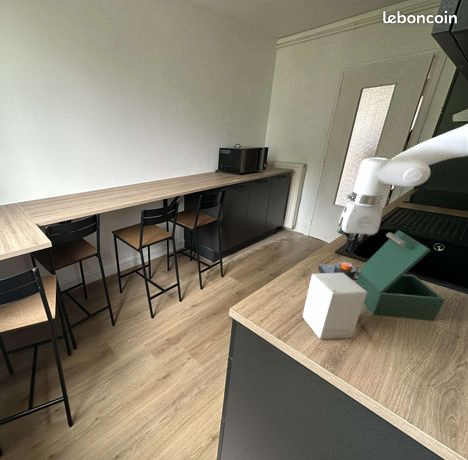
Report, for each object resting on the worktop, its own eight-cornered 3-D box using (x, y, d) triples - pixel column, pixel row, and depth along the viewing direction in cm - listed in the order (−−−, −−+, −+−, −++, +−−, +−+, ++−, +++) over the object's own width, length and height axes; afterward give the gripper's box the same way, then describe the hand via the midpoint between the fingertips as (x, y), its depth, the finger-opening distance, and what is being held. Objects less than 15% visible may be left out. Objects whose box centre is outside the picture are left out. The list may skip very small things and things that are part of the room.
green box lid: (400, 231, 72) (386, 224, 72) (431, 250, 62) (414, 241, 62) (361, 270, 79) (348, 264, 79) (382, 293, 68) (367, 286, 69)
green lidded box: (404, 298, 80) (414, 275, 76) (432, 325, 69) (445, 299, 66) (352, 293, 83) (359, 271, 79) (371, 319, 72) (380, 294, 69)
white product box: (353, 338, 66) (369, 292, 60) (319, 340, 66) (332, 293, 60) (331, 314, 74) (343, 271, 68) (301, 315, 74) (311, 273, 68)
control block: (347, 271, 94) (350, 262, 93) (358, 284, 87) (361, 274, 86) (318, 269, 96) (320, 260, 95) (326, 281, 89) (328, 272, 88)
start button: (348, 266, 91) (349, 262, 90) (352, 271, 88) (354, 267, 88) (338, 265, 92) (339, 261, 91) (342, 270, 89) (343, 266, 88)
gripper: (344, 201, 78) (330, 253, 85) (400, 202, 75) (381, 256, 82) (334, 194, 85) (322, 243, 92) (385, 196, 82) (368, 246, 89)
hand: (350, 249), depth 87 cm, fingers closed
